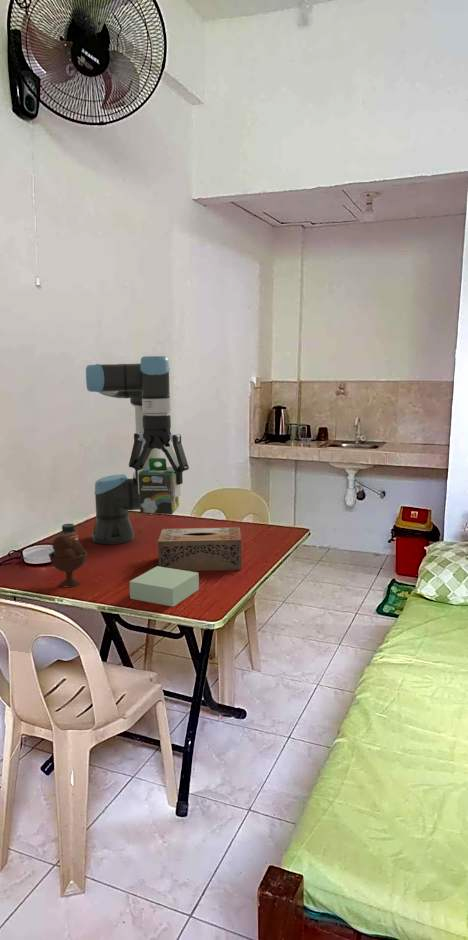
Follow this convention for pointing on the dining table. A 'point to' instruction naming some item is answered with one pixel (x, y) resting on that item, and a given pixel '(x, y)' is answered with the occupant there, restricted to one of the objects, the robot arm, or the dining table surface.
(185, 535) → the tissue box cover
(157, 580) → the plinth
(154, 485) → the chalk box
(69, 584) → the ice cream bowl
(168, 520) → the dining table surface
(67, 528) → the supplement bottle
